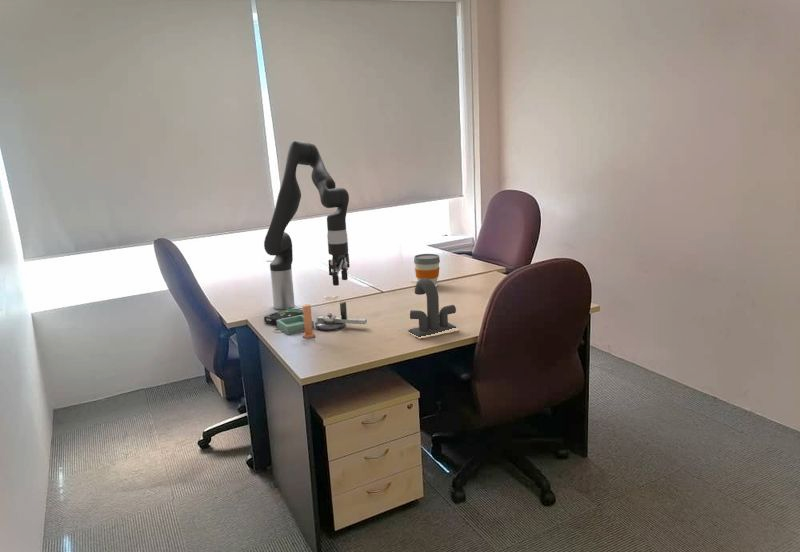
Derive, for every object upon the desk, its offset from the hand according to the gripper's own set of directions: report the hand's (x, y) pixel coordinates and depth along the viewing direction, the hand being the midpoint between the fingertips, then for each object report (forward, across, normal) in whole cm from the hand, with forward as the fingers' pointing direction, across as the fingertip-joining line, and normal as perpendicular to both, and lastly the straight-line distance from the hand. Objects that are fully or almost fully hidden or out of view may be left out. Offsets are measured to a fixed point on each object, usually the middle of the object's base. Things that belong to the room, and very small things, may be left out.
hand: (340, 282), depth 224 cm
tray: (+18, -4, +19) cm, 26 cm away
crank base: (+18, 0, +6) cm, 19 cm away
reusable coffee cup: (+18, +66, -17) cm, 71 cm away
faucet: (+19, +4, -34) cm, 39 cm away
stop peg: (+18, -12, +9) cm, 24 cm away
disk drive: (+18, +4, +28) cm, 33 cm away
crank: (+16, 0, +1) cm, 16 cm away
